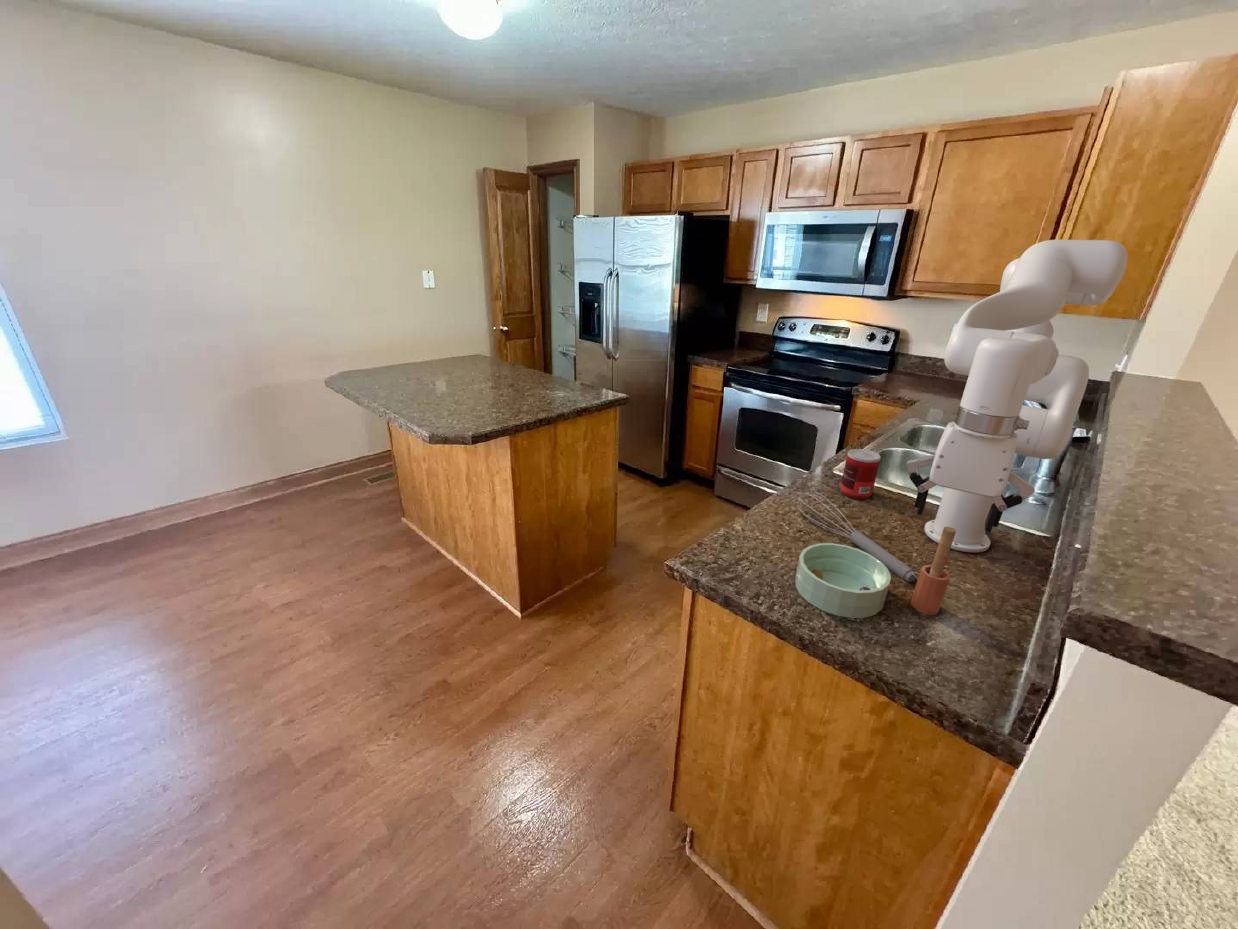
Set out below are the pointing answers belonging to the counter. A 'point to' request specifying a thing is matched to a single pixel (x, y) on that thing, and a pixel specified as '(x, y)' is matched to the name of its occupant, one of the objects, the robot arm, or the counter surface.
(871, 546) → the kitchen whisk
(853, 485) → the canned food
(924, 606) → the utensil pot
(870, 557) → the mixing bowl
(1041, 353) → the robot arm
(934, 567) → the stirring stick
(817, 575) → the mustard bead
